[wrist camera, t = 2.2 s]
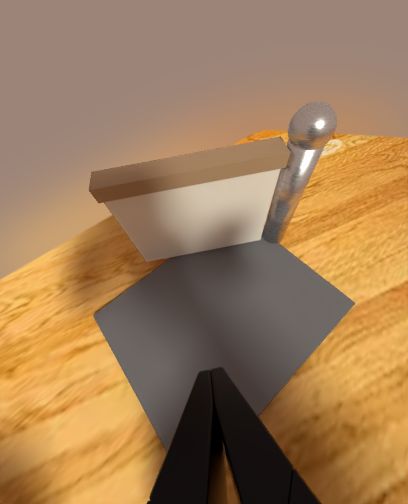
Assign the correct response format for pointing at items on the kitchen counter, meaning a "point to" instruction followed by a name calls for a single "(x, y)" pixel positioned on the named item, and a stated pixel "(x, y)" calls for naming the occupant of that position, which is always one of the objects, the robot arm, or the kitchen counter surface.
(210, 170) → the panel
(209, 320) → the mat
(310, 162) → the gate post
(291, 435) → the kitchen counter surface
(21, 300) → the kitchen counter surface
